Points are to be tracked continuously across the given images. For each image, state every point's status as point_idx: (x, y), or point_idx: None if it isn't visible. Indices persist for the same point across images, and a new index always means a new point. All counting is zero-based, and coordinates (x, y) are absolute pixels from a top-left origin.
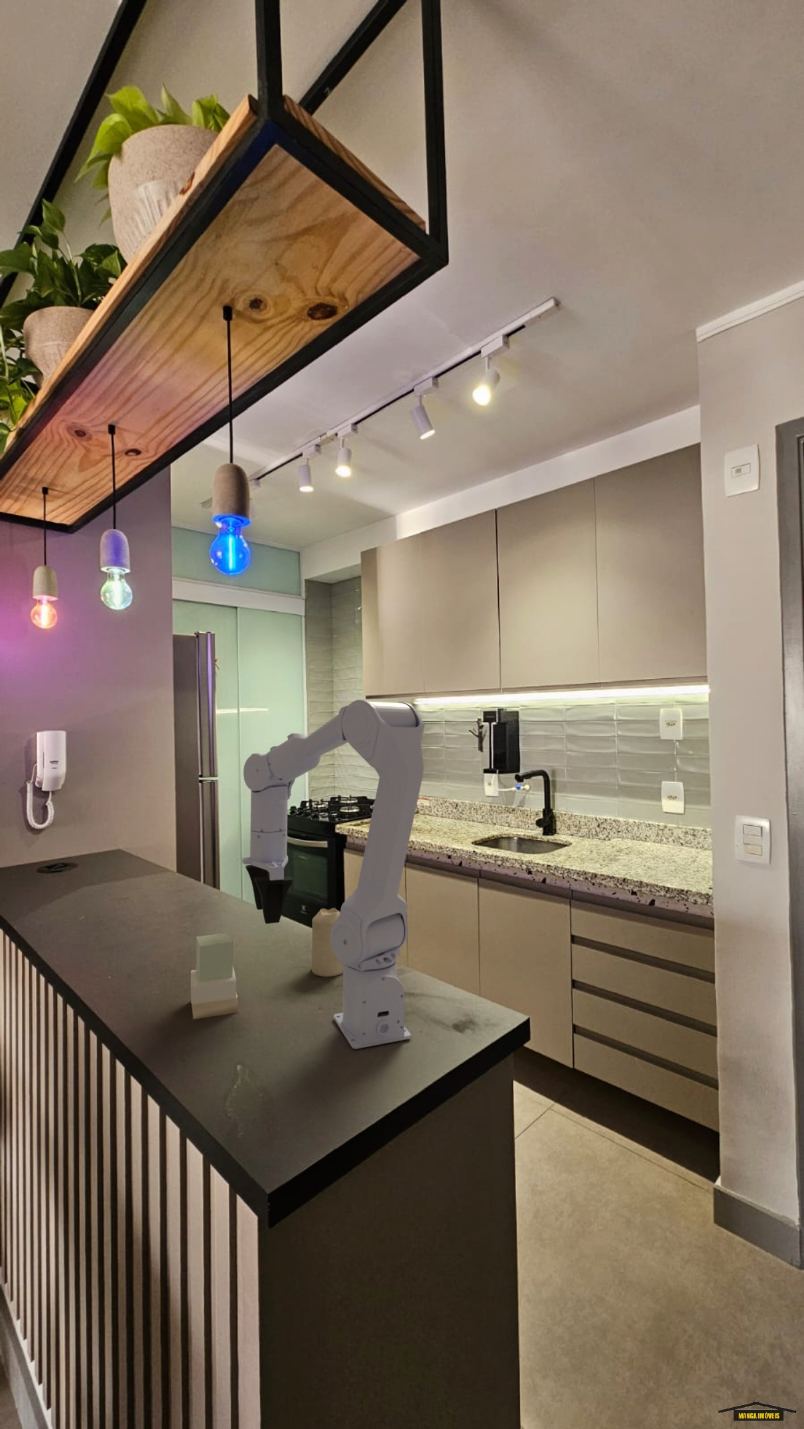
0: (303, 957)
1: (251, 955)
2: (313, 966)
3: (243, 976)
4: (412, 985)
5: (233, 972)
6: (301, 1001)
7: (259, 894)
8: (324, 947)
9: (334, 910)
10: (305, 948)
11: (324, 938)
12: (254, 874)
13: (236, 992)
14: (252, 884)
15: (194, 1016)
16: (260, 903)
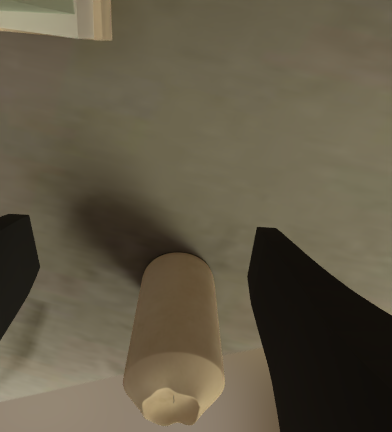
0: None
1: (371, 154)
2: (172, 261)
3: (234, 100)
4: (58, 364)
5: (1, 23)
6: (30, 192)
7: (279, 287)
8: (138, 312)
9: (187, 417)
10: None
11: (135, 331)
12: (349, 397)
13: (4, 30)
14: (341, 303)
15: None
16: (261, 257)
